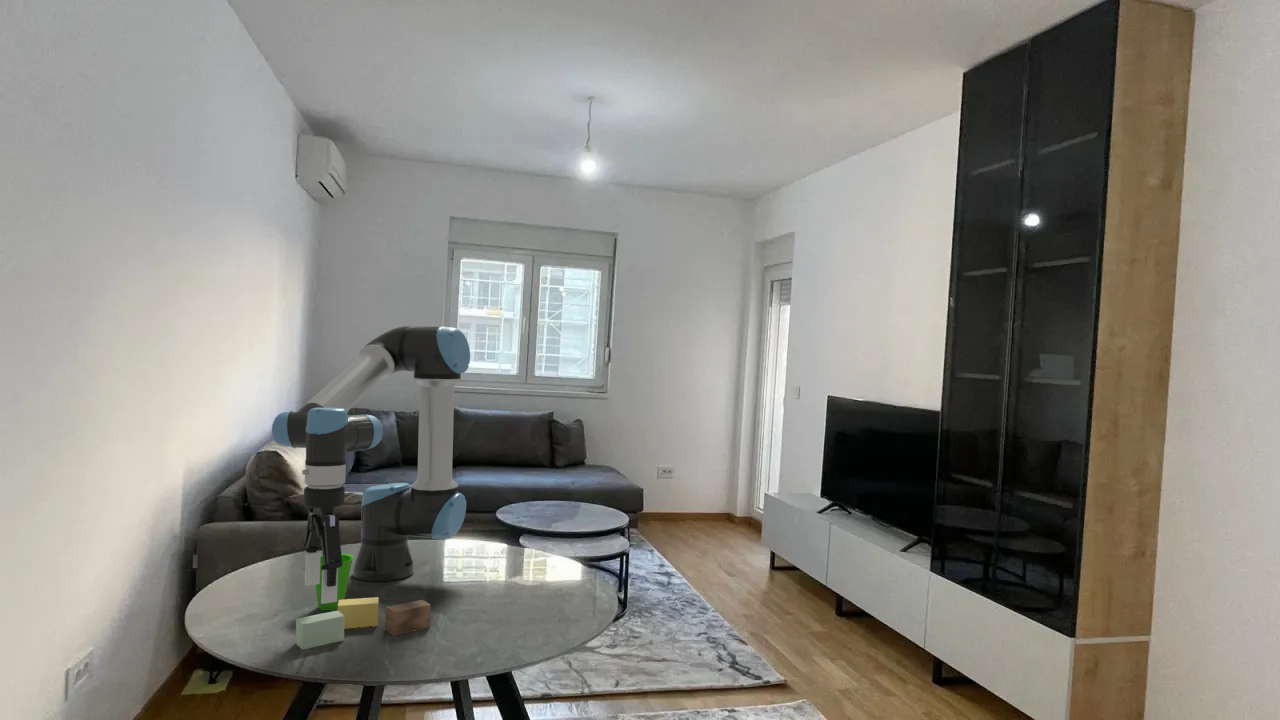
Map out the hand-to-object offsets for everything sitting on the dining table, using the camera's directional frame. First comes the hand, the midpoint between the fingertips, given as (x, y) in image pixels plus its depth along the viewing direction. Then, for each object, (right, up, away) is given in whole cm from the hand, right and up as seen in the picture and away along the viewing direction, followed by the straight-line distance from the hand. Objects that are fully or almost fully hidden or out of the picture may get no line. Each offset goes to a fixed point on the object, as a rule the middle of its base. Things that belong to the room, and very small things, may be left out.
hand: (320, 593), depth 149 cm
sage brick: (0, -10, 0) cm, 10 cm away
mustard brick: (+4, -10, +11) cm, 15 cm away
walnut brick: (+15, -10, +9) cm, 20 cm away
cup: (-6, -10, +21) cm, 24 cm away
